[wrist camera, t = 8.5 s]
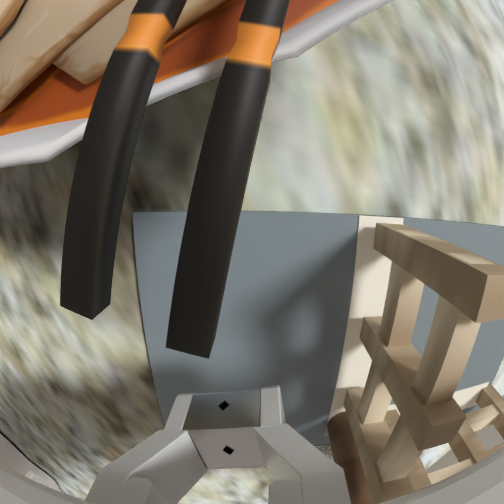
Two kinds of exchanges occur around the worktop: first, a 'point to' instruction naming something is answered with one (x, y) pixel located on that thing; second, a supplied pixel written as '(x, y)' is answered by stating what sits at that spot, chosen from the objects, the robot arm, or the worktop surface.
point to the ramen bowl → (131, 114)
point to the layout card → (298, 309)
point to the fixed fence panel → (462, 438)
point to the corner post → (348, 458)
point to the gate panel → (408, 358)
